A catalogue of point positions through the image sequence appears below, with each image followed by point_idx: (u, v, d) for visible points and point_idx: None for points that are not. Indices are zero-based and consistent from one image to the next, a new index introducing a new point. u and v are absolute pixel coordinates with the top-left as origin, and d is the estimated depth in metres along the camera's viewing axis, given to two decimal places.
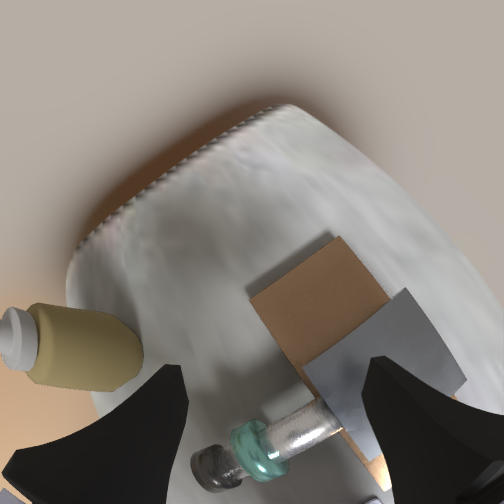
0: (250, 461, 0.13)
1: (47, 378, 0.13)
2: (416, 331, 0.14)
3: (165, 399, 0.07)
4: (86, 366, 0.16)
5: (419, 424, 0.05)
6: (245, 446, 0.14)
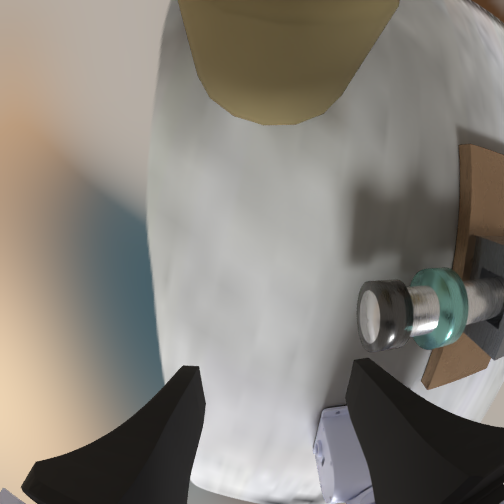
0: (457, 323, 0.11)
1: (327, 25, 0.04)
2: None
3: (187, 401, 0.07)
4: (354, 65, 0.07)
5: (398, 430, 0.05)
6: (461, 303, 0.11)
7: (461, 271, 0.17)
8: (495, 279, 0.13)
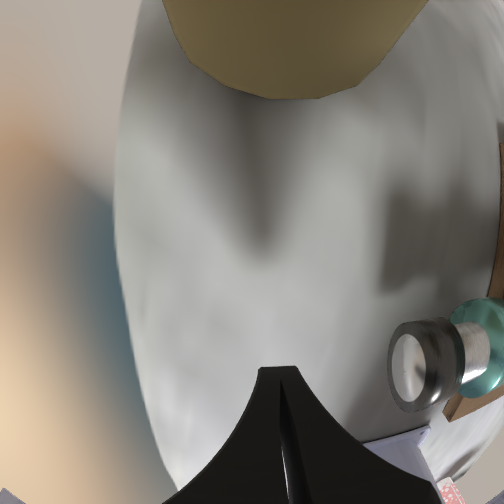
0: None
1: None
2: None
3: None
4: None
5: (296, 449, 0.05)
6: None
7: (500, 294, 0.12)
8: None
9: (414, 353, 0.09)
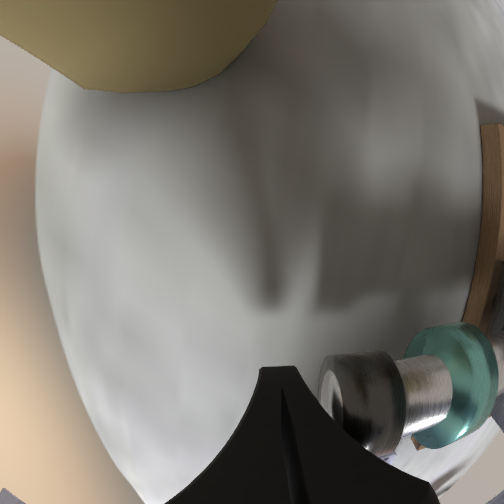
0: (475, 422, 0.05)
1: None
2: None
3: None
4: None
5: (294, 449, 0.05)
6: (487, 392, 0.05)
7: (479, 313, 0.10)
8: None
9: (335, 397, 0.07)
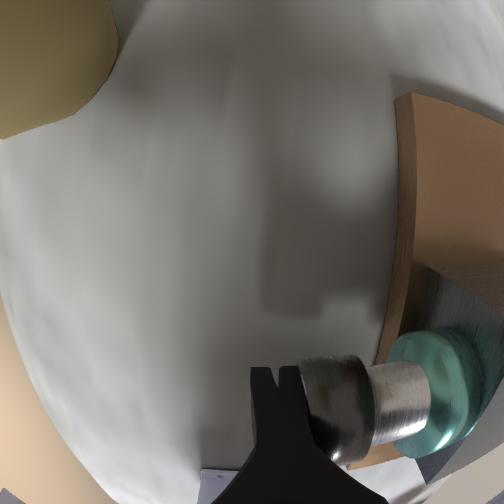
0: (455, 433, 0.05)
1: None
2: None
3: None
4: None
5: None
6: (468, 403, 0.05)
7: (396, 329, 0.10)
8: None
9: None
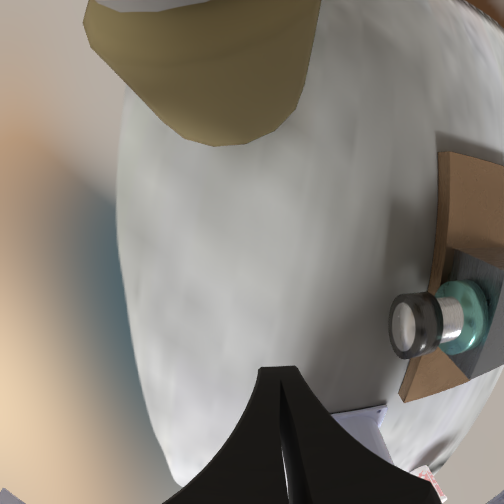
0: (479, 331, 0.12)
1: (212, 57, 0.04)
2: None
3: None
4: (282, 84, 0.07)
5: (295, 449, 0.05)
6: (482, 313, 0.12)
7: (438, 285, 0.17)
8: None
9: (407, 315, 0.14)
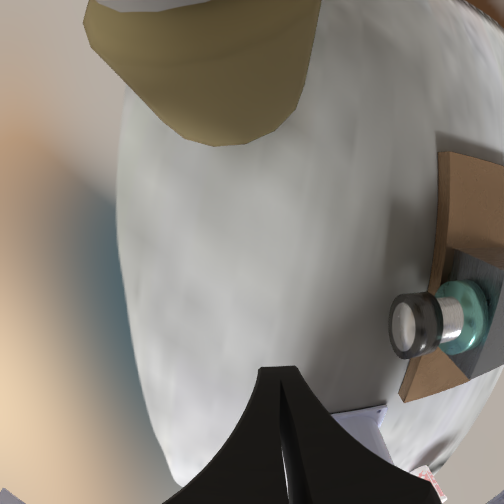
0: (479, 331, 0.12)
1: (213, 57, 0.04)
2: None
3: None
4: (282, 84, 0.07)
5: (295, 449, 0.05)
6: (482, 313, 0.12)
7: (438, 285, 0.17)
8: None
9: (407, 315, 0.14)
